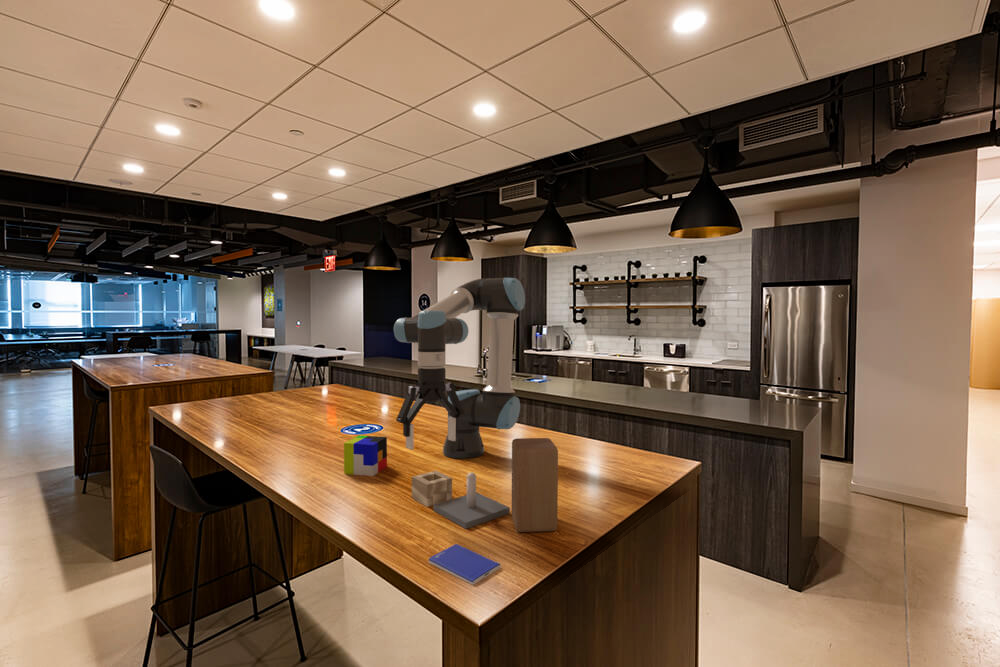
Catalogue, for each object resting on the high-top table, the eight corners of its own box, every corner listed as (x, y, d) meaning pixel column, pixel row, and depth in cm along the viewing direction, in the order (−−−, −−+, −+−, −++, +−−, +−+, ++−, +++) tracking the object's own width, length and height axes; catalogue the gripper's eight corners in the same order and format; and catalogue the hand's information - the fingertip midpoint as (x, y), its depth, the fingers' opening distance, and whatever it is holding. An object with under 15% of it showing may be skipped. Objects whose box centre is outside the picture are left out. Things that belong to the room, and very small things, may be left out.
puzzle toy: (373, 476, 149) (372, 444, 149) (344, 474, 151) (343, 443, 151) (386, 466, 159) (386, 437, 158) (359, 464, 161) (359, 435, 160)
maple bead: (436, 491, 136) (436, 470, 136) (452, 499, 130) (452, 477, 130) (411, 498, 131) (411, 476, 130) (427, 507, 125) (427, 484, 124)
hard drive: (428, 557, 96) (472, 580, 88) (457, 543, 103) (500, 562, 95) (428, 565, 96) (472, 588, 88) (456, 550, 103) (500, 570, 95)
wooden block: (511, 515, 119) (511, 437, 119) (550, 514, 120) (550, 436, 120) (515, 534, 109) (516, 448, 109) (558, 532, 110) (558, 447, 110)
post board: (476, 497, 132) (476, 461, 131) (509, 513, 121) (509, 473, 121) (433, 510, 122) (433, 471, 122) (465, 529, 112) (465, 486, 111)
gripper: (397, 371, 118) (397, 455, 119) (476, 365, 134) (475, 439, 135) (383, 368, 124) (383, 449, 124) (460, 363, 140) (460, 434, 141)
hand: (431, 444), depth 130 cm, fingers open, 13 cm apart
